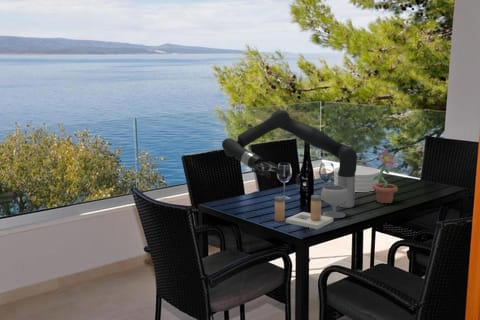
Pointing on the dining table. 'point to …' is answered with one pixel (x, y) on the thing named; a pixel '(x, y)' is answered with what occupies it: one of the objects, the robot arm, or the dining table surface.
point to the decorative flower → (384, 189)
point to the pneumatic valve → (299, 179)
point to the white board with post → (311, 216)
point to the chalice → (334, 199)
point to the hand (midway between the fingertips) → (275, 174)
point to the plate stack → (362, 178)
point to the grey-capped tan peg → (279, 208)
